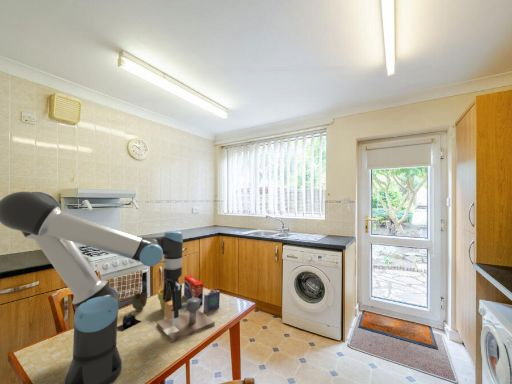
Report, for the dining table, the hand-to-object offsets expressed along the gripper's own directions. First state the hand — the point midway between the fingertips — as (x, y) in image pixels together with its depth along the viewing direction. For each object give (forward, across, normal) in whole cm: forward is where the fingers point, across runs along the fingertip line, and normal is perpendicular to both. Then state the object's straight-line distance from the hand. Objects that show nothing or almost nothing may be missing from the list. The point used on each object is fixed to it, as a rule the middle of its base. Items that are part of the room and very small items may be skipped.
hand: (171, 321), depth 99 cm
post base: (+6, -2, +8) cm, 10 cm away
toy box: (+6, -25, +23) cm, 34 cm away
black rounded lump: (+6, -20, -11) cm, 24 cm away
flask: (+6, -8, +25) cm, 27 cm away
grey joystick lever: (-2, 0, +6) cm, 6 cm away
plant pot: (+6, -23, +8) cm, 25 cm away
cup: (+6, -31, -4) cm, 32 cm away
